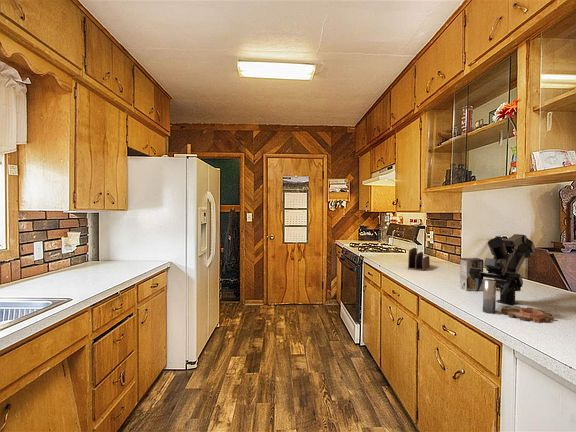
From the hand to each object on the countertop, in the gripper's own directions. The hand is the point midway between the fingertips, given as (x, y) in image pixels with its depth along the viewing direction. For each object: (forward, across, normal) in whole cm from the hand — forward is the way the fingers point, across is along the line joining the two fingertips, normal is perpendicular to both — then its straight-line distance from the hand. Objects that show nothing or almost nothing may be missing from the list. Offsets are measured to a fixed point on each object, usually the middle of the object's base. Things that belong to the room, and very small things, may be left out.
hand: (489, 293), depth 135 cm
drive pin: (+5, 0, +6) cm, 8 cm away
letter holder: (-46, -70, +56) cm, 101 cm away
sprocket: (0, +11, +10) cm, 15 cm away
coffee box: (-19, -20, +30) cm, 41 cm away
